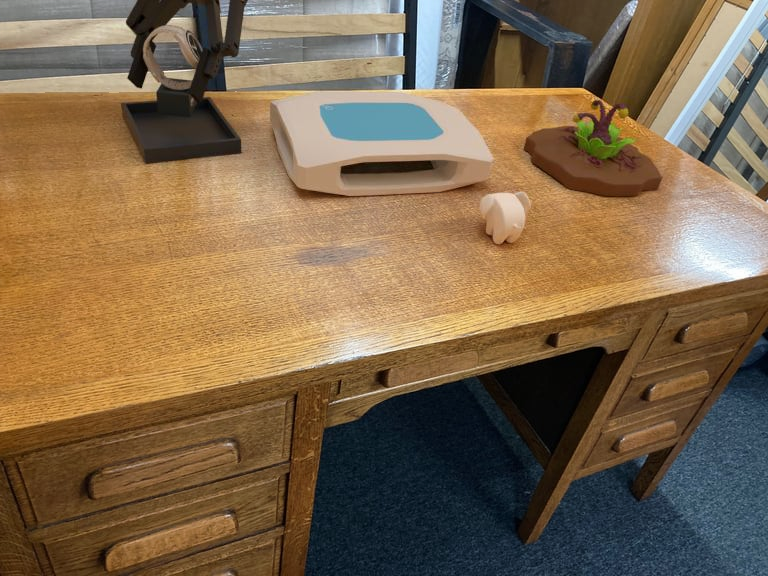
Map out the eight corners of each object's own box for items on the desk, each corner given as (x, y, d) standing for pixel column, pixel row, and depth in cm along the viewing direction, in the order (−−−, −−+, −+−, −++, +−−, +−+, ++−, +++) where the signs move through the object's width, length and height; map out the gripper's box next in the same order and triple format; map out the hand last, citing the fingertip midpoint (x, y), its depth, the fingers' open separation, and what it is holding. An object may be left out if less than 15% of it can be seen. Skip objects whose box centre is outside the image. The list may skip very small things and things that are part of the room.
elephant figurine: (505, 216, 85) (516, 178, 81) (535, 250, 79) (549, 210, 76) (461, 220, 83) (471, 181, 79) (489, 255, 77) (501, 214, 73)
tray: (122, 116, 93) (120, 102, 92) (210, 109, 99) (209, 96, 98) (145, 163, 83) (143, 149, 82) (241, 152, 89) (241, 139, 88)
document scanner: (488, 190, 90) (499, 151, 86) (297, 200, 81) (300, 156, 77) (434, 127, 105) (441, 91, 102) (268, 129, 96) (269, 89, 92)
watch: (204, 118, 87) (200, 38, 80) (144, 112, 86) (135, 30, 79) (211, 102, 91) (208, 25, 85) (154, 97, 90) (146, 17, 84)
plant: (570, 201, 91) (597, 129, 84) (508, 140, 105) (526, 75, 98) (677, 194, 98) (710, 127, 91) (605, 138, 112) (629, 76, 105)
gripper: (292, -28, 89) (245, 119, 86) (157, -56, 91) (108, 86, 89) (279, -65, 82) (227, 95, 79) (133, -95, 84) (78, 60, 81)
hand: (164, 90), depth 84 cm, fingers closed on watch, 8 cm apart
